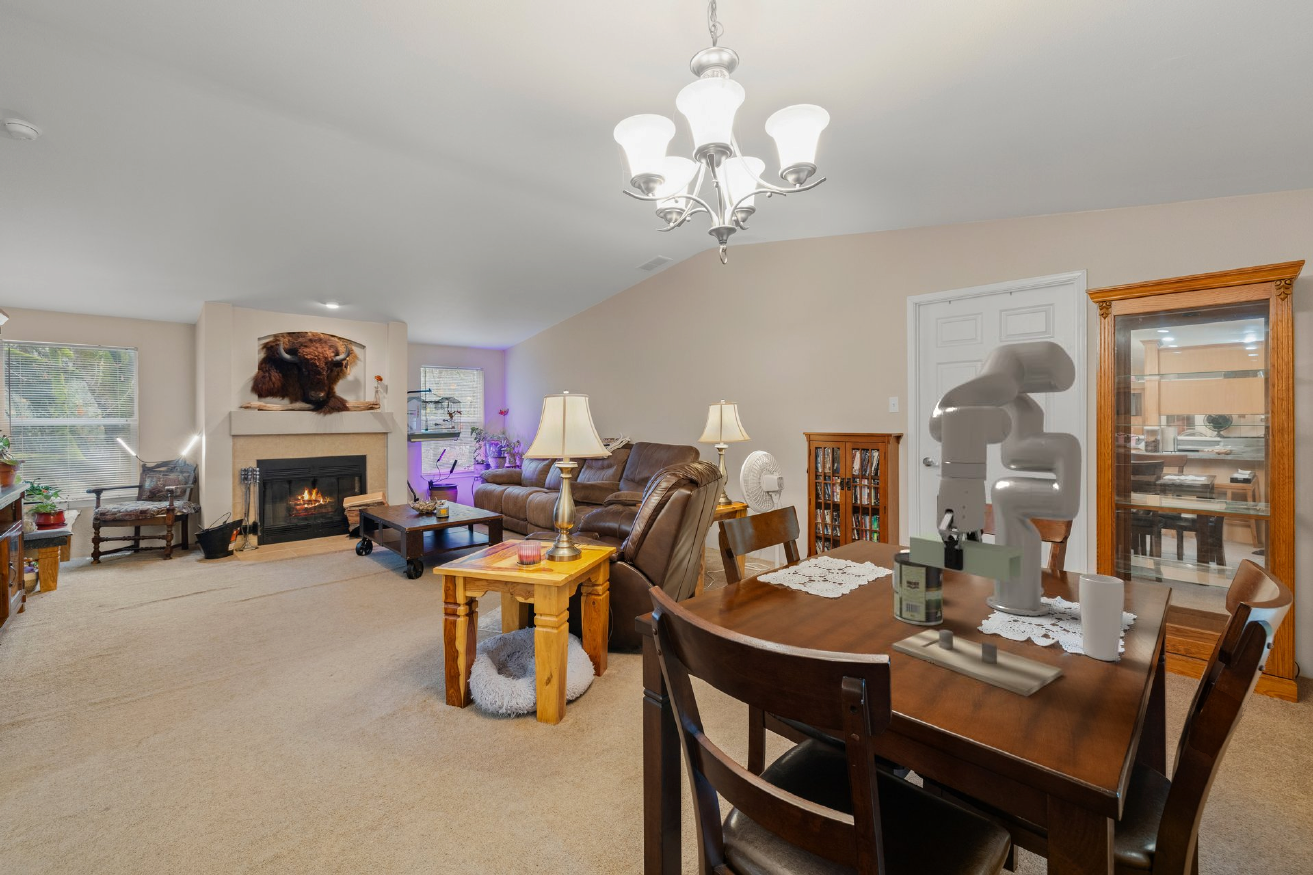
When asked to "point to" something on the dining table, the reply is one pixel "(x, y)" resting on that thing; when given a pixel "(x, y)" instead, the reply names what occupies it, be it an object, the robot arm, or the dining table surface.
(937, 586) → the coffee can
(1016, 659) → the board
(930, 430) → the robot arm
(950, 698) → the dining table surface
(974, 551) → the long sage green beam
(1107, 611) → the drinking glass
